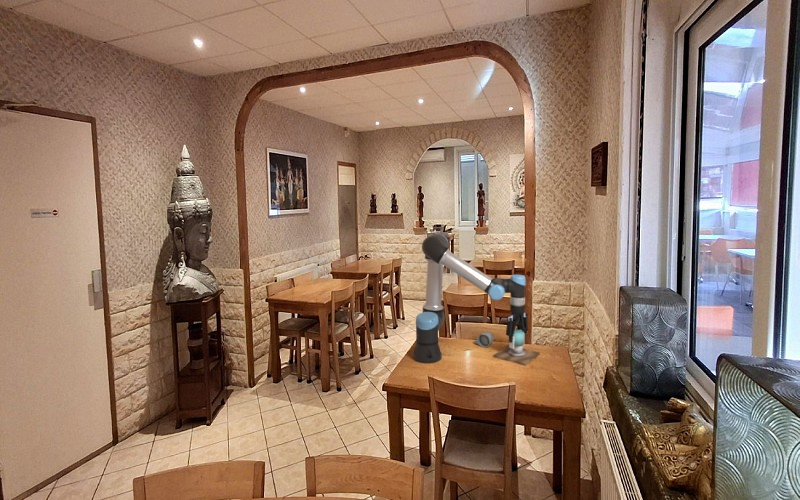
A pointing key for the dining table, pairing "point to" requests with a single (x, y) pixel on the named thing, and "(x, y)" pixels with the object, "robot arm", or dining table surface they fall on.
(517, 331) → the turquoise round jar
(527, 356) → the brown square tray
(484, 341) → the ceramic mug
